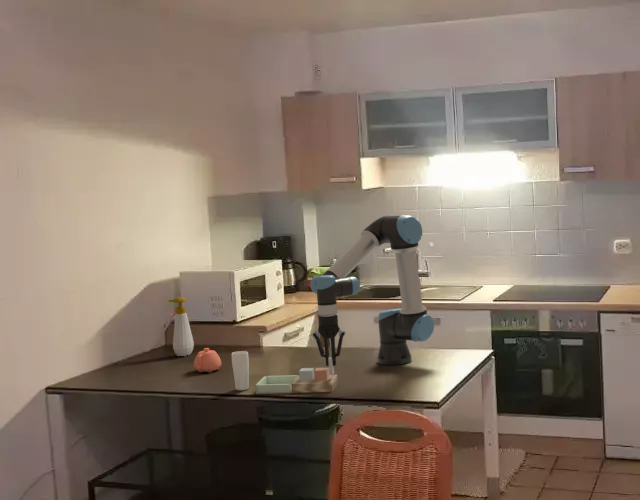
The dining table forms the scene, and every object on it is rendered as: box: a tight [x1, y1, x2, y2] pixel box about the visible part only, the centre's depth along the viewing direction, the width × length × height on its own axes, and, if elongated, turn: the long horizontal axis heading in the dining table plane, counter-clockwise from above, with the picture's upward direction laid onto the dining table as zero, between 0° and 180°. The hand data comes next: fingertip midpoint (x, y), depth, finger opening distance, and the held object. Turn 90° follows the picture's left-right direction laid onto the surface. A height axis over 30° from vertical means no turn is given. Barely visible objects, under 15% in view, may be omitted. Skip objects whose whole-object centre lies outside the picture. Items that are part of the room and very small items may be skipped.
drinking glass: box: [231, 350, 250, 392], centre depth 374 cm, size 7×7×15 cm
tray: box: [254, 374, 299, 395], centre depth 371 cm, size 14×16×4 cm
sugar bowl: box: [193, 347, 222, 374], centre depth 414 cm, size 12×14×10 cm
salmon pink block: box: [314, 367, 329, 381], centre depth 368 cm, size 5×5×4 cm
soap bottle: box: [168, 296, 195, 357], centre depth 454 cm, size 13×10×29 cm
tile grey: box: [298, 367, 315, 381], centre depth 369 cm, size 5×5×4 cm
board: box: [291, 374, 339, 394], centre depth 368 cm, size 16×14×4 cm
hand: (331, 373), depth 367 cm, fingers closed
